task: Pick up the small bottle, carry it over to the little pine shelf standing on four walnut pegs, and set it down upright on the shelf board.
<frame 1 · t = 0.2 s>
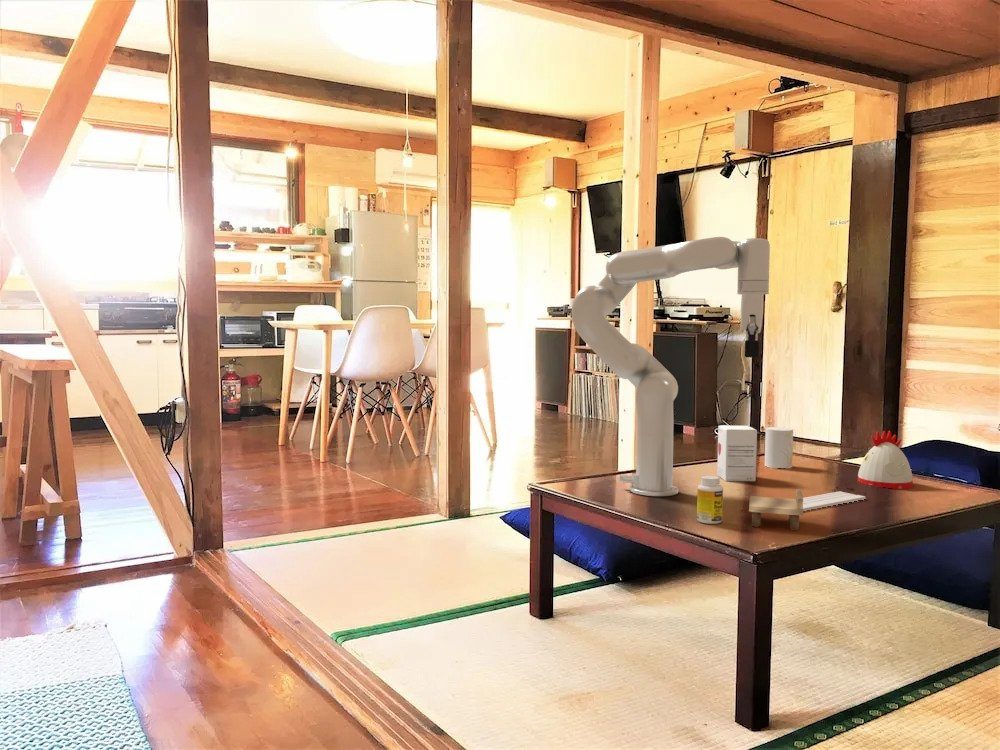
hand: (751, 356, 202), 36 cm above the table, tool pointing down, fingers open, 9 cm apart
baseboard: (811, 506, 201), on the table
cup: (778, 467, 251), on the table
supplement box: (735, 479, 232), on the table
shelf: (774, 523, 180), on the table
kitchen timer: (884, 484, 225), on the table
supplement bottle: (709, 522, 181), on the table
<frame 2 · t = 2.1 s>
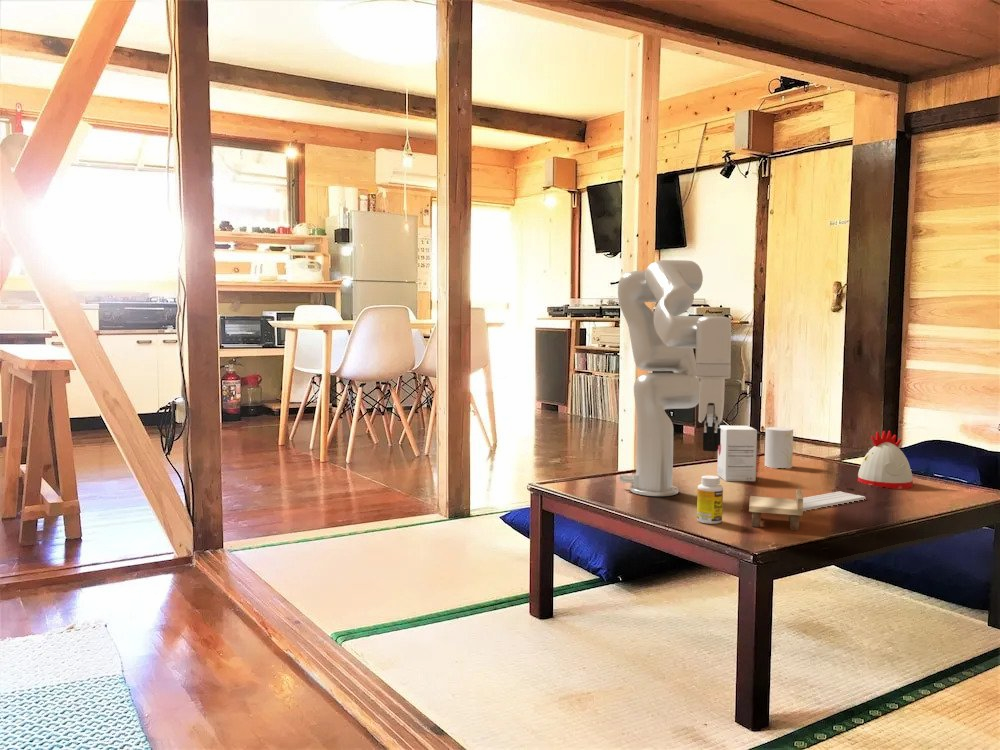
hand: (711, 448, 180), 17 cm above the table, tool pointing down, fingers open, 9 cm apart
nothing on the table moved.
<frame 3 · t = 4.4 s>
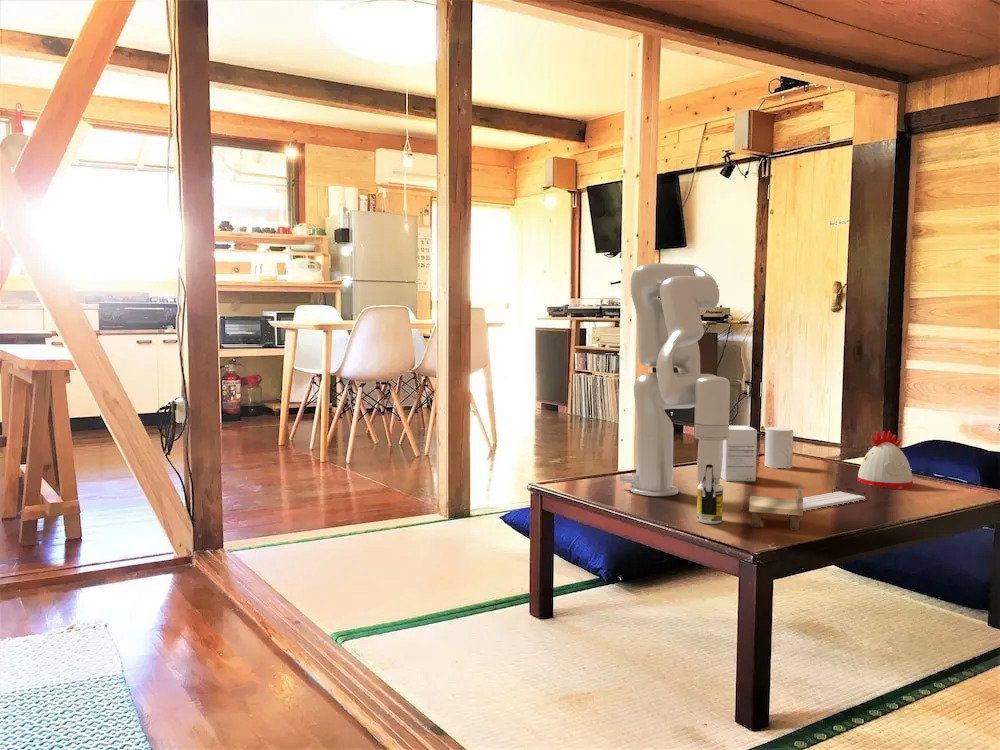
hand: (709, 510, 181), 3 cm above the table, tool pointing down, fingers closed on supplement bottle, 5 cm apart
supplement bottle: (709, 522, 181), on the table, touching gripper
everything else where it was.
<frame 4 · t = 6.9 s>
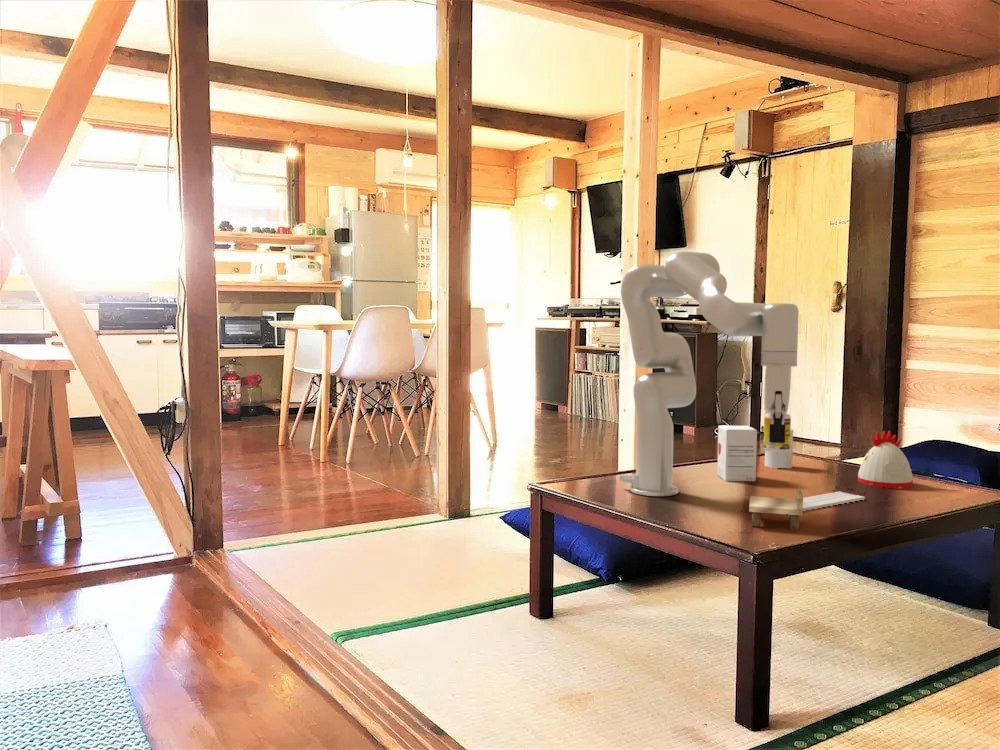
hand: (776, 439, 178), 19 cm above the table, tool pointing down, fingers closed on supplement bottle, 5 cm apart
supplement bottle: (776, 451, 179), point 16 cm above the table, touching gripper
everything else where it was.
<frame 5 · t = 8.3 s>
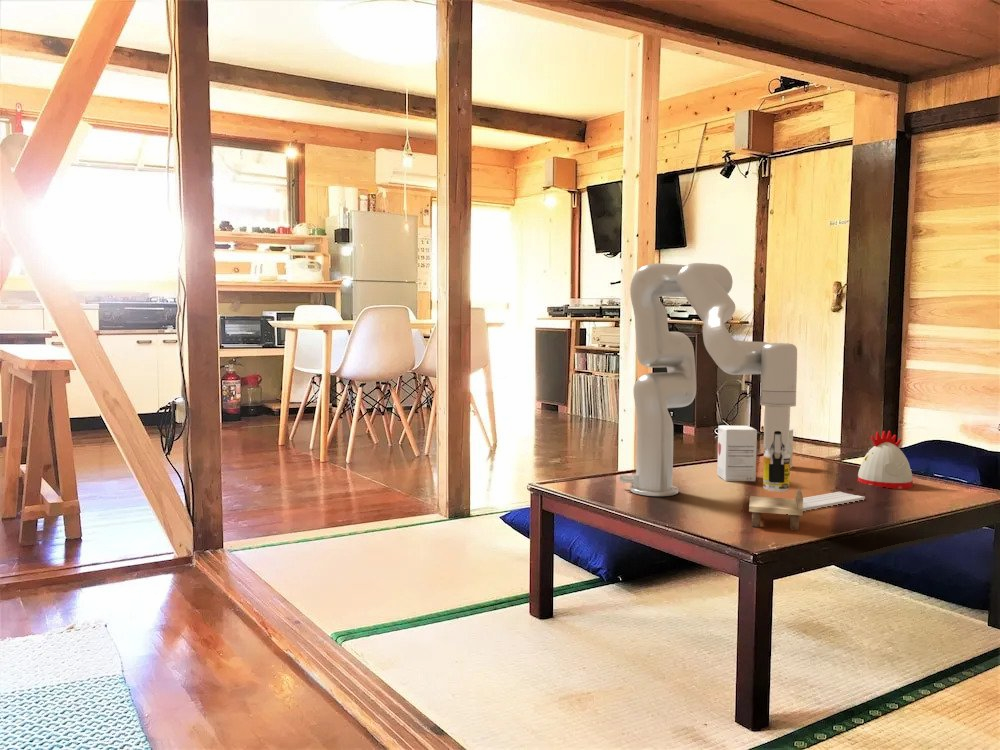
hand: (776, 478, 179), 10 cm above the table, tool pointing down, fingers closed on supplement bottle, 5 cm apart
supplement bottle: (776, 490, 179), point 7 cm above the table, touching gripper
everything else where it was.
when the fingers open (8 cm above the table, at t = 9.6 s): supplement bottle stays where it is, resting on shelf.
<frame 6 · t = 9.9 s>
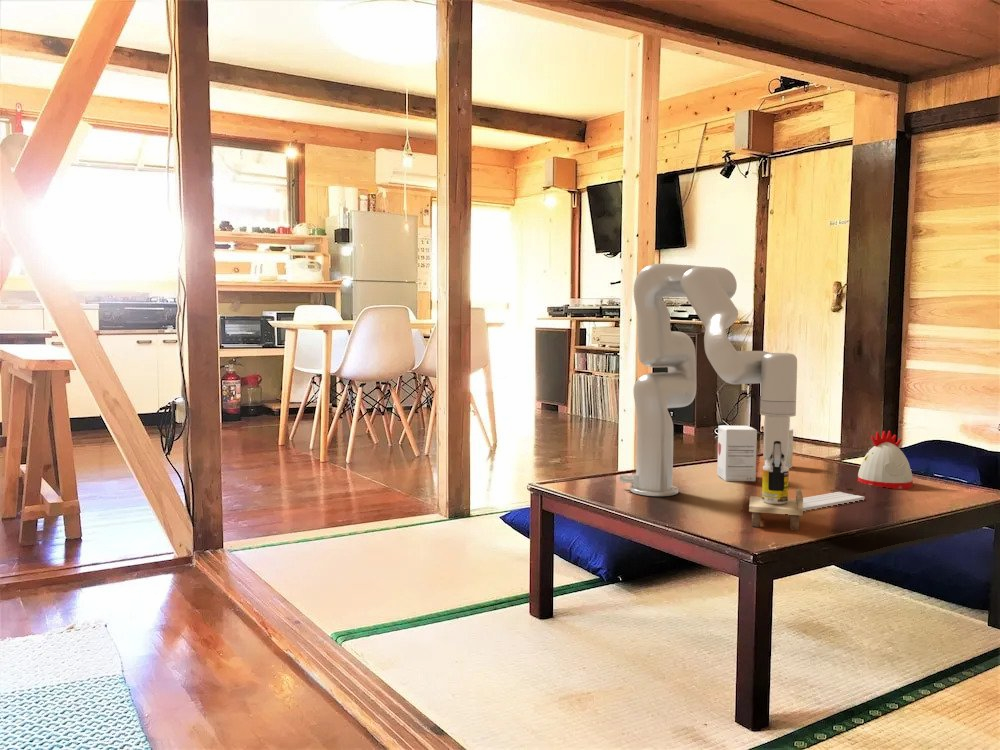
hand: (775, 486, 179), 8 cm above the table, tool pointing down, fingers open, 8 cm apart
supplement bottle: (774, 503, 180), point 5 cm above the table, touching shelf
everything else where it was.
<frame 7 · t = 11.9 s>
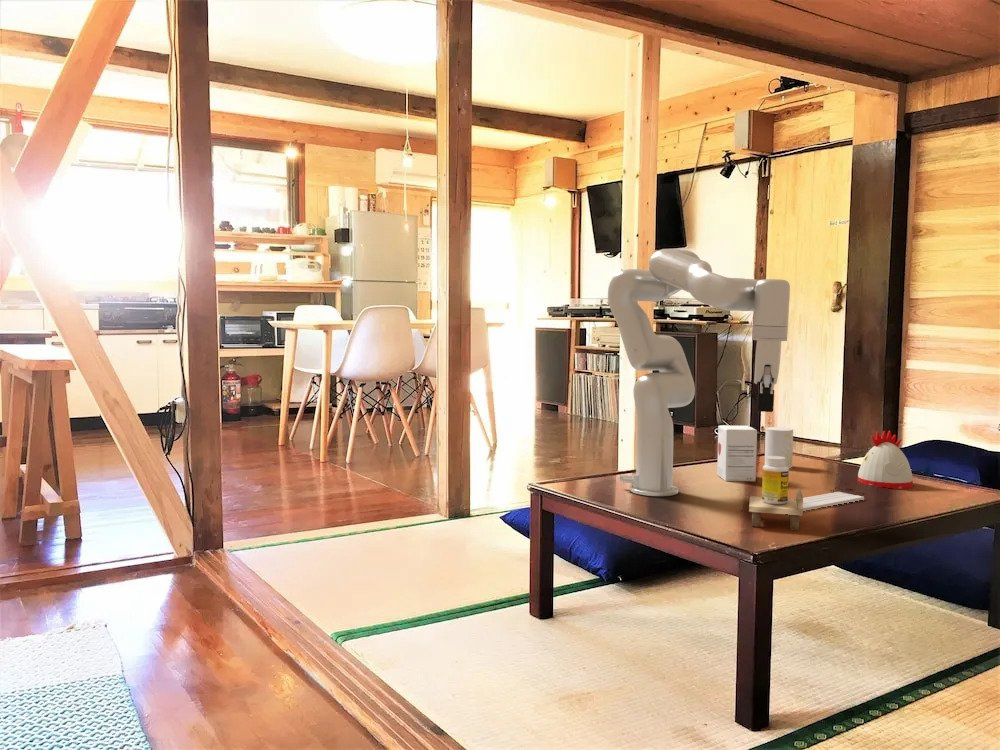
hand: (765, 408, 183), 25 cm above the table, tool pointing down, fingers open, 9 cm apart
nothing on the table moved.
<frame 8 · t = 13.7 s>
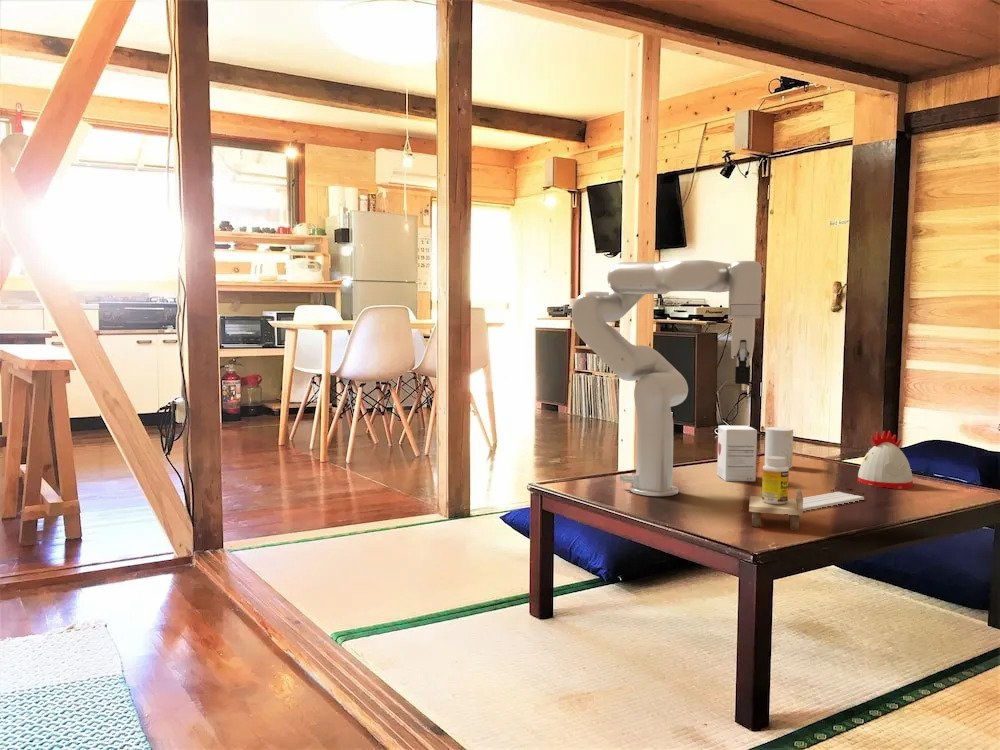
hand: (742, 382, 196), 30 cm above the table, tool pointing down, fingers open, 9 cm apart
nothing on the table moved.
at the end: supplement bottle inside the target area on the shelf (0.3 cm from its centre), point 4.5 cm above the shelf's base; supplement bottle tilted 0°; the gripper is holding nothing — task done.
